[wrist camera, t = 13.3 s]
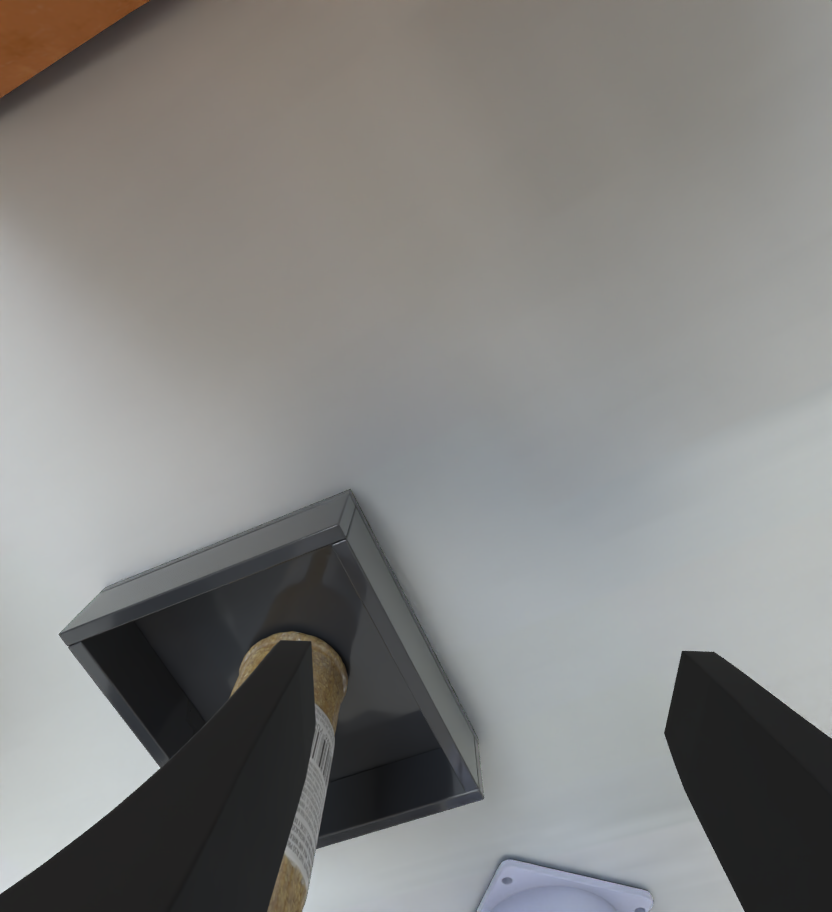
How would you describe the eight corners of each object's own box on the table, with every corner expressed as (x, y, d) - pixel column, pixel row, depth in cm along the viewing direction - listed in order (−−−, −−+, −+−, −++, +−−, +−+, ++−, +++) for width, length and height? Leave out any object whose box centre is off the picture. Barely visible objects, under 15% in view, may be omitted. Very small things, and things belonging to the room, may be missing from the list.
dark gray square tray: (478, 738, 25) (484, 799, 22) (260, 806, 26) (240, 872, 23) (350, 488, 21) (338, 523, 18) (104, 587, 22) (57, 634, 19)
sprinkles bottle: (230, 633, 22) (-25, 1114, 10) (339, 620, 22) (222, 1099, 9) (258, 720, 24) (66, 1236, 11) (360, 709, 24) (282, 1227, 11)
